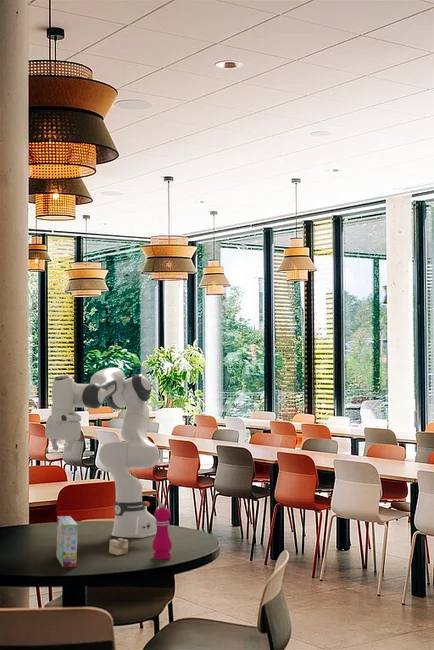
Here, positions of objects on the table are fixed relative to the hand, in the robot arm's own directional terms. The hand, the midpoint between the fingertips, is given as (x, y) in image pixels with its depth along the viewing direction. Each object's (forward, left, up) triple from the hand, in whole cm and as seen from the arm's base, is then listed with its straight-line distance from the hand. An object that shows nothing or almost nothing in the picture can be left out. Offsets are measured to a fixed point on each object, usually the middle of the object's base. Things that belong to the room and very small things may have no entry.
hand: (62, 451), depth 364 cm
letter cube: (-8, +28, -37) cm, 47 cm away
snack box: (+16, +28, -37) cm, 49 cm away
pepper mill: (-14, +46, -37) cm, 61 cm away
